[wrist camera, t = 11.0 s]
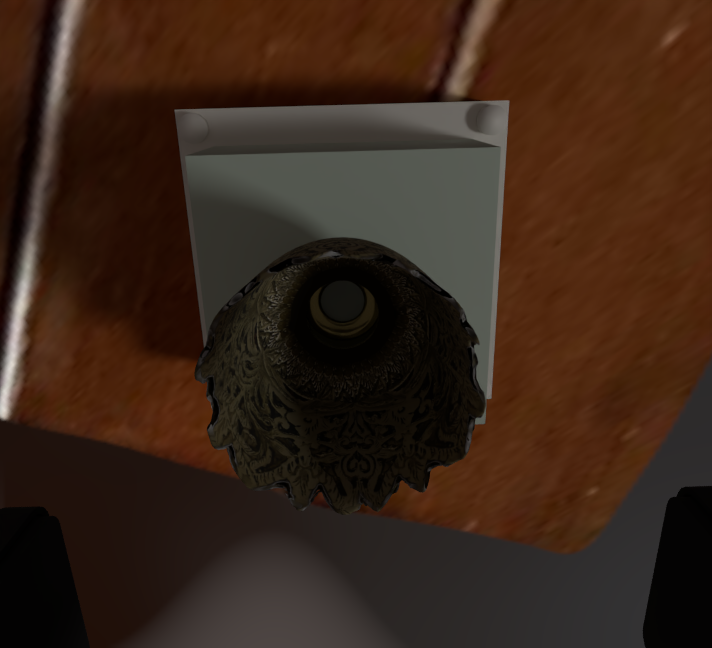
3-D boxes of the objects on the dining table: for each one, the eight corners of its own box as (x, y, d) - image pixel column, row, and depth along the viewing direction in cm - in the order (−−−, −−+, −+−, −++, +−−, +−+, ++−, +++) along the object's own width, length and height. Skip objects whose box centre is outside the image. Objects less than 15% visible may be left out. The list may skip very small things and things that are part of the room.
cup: (441, 381, 24) (487, 508, 16) (259, 395, 24) (221, 529, 16) (436, 193, 21) (488, 241, 14) (231, 210, 21) (171, 267, 14)
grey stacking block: (201, 108, 29) (134, 111, 20) (483, 101, 30) (547, 100, 20) (229, 366, 34) (186, 464, 25) (471, 358, 34) (518, 453, 25)
